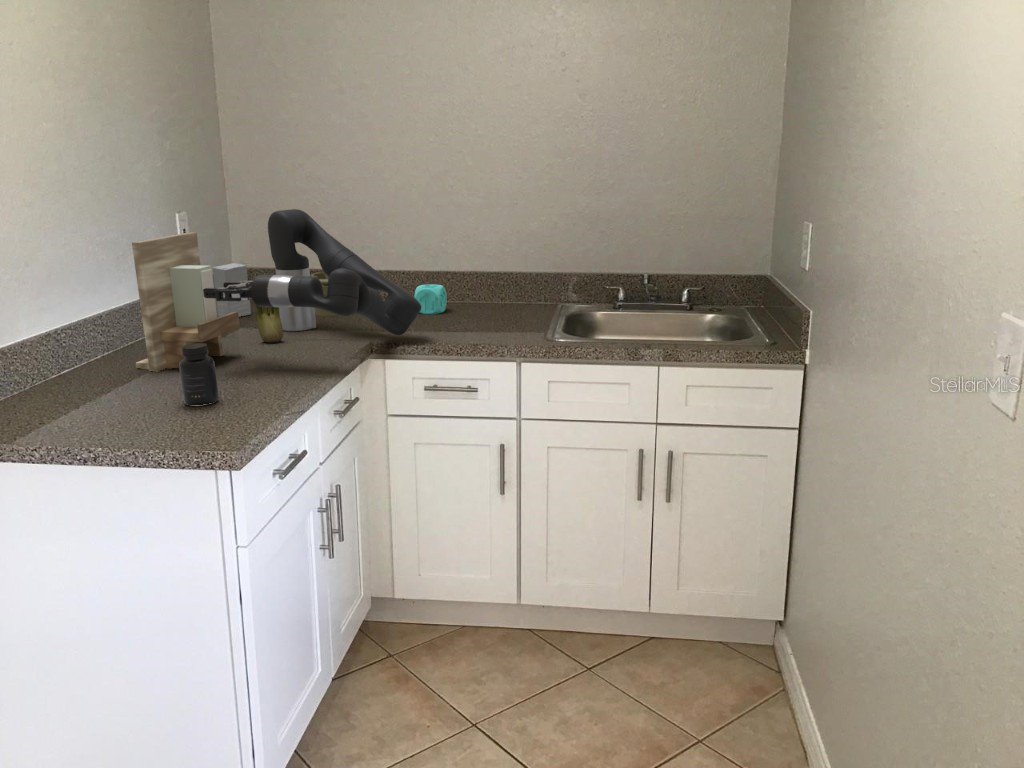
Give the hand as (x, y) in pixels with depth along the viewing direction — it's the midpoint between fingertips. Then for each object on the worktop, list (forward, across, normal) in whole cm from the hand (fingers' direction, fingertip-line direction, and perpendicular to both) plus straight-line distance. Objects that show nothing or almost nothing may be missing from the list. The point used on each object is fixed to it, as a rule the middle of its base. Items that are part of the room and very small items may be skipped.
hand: (214, 289), depth 200 cm
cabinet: (+7, +1, -9) cm, 11 cm away
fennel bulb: (0, +23, -18) cm, 29 cm away
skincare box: (+29, +53, -18) cm, 63 cm away
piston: (+1, +64, -18) cm, 66 cm away
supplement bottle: (-13, -30, -18) cm, 37 cm away
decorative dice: (-29, +70, -18) cm, 78 cm away
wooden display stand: (+9, +1, -18) cm, 20 cm away
